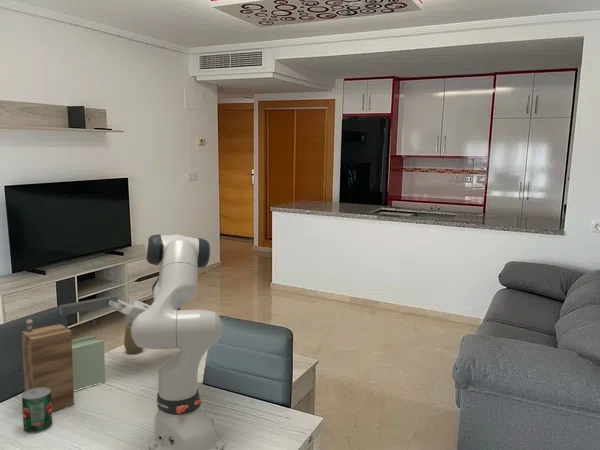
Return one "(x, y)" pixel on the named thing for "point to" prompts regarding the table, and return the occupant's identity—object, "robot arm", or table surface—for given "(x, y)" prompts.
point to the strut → (86, 305)
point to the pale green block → (88, 362)
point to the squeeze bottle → (130, 341)
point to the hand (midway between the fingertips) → (106, 300)
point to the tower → (49, 362)
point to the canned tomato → (37, 409)
